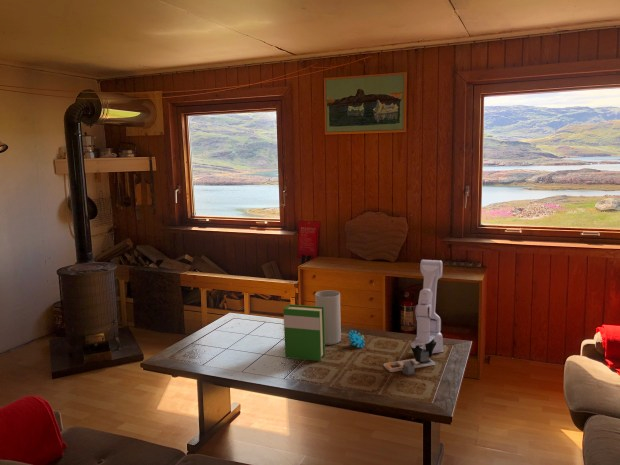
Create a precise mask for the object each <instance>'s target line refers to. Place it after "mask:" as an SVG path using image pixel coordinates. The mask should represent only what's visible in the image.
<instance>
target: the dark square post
mask: <svg viewBox="0 0 620 465" xmlns="http://www.w3.org/2000/svg"><path fill="white" fill-rule="evenodd" d="M429 358H430V357H429V351H427V350H426V349H422V351H421V357H420V363H421V364H422V363H428V362H429Z"/></svg>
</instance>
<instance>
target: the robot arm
mask: <svg viewBox="0 0 620 465" xmlns="http://www.w3.org/2000/svg"><path fill="white" fill-rule="evenodd" d="M419 265H420V266H419V267H420V268H419V269H420V273H421V275H422V277H423V284H422V286H423V287H422V289H421V290H419V296H418V302H417V303H418V304H416V306H415V310H414V311H415V319H416V320H415V321H416V337H415V340H413V341H412V342H410V346H409V348H410V349H411V351H412V353H413V356H414V359H415V361H417V362H420V357H421V351H422V349H426V350H427V351H429V358H432V355H433V354H438V353H443V352H444V338H443V334H442V333H441V330H442V319H441V317H440V316H439V315H438V314H437V312H436V306H437V305H436V304H437V290H438V289H437V288H438V280H439V279H442V276H443V271H444V270H443V267H444V263H443V261H442V260H441V259H440V260H437V259H433V260H432V259H421V260H420V264H419ZM420 346H421V347H420Z"/></svg>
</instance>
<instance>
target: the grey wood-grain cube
mask: <svg viewBox="0 0 620 465" xmlns="http://www.w3.org/2000/svg"><path fill="white" fill-rule="evenodd" d="M402 373H403V374H405V376H412V375H414V374H415V368H414V364H413V363H409V362H408V363H405V364H403V370H402Z"/></svg>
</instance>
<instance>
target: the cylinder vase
mask: <svg viewBox="0 0 620 465" xmlns="http://www.w3.org/2000/svg"><path fill="white" fill-rule="evenodd" d="M314 296H315V306H320V307H324V326H325V346H326V345H331V346H332V345H336V344H338V343H340V342H341V340H342V328H341V327H342V324H341V323H342V322H341V319H342V317H341V292H339V291H338V290H333V289H332V290H330V289H329V290H328V289H327V290H320V291H317V292H315V294H314Z"/></svg>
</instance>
